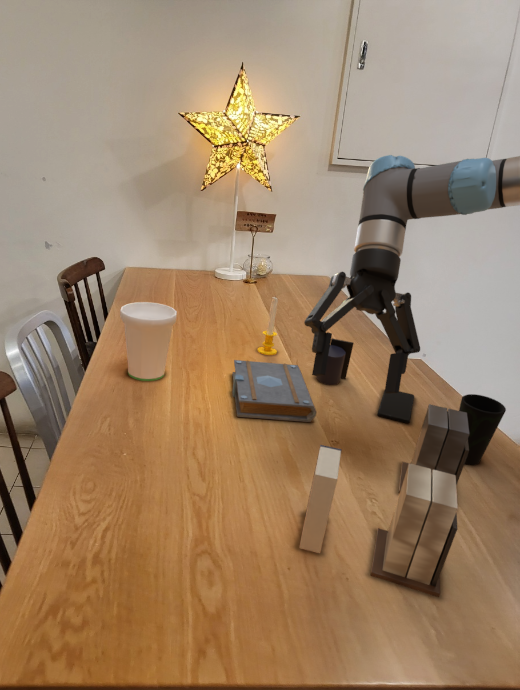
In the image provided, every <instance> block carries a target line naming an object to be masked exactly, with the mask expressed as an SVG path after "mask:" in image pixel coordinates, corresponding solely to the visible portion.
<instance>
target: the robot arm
mask: <svg viewBox="0 0 520 690" xmlns="http://www.w3.org/2000/svg"><path fill="white" fill-rule="evenodd" d="M516 206H517V207H518V206H520V155H517V156H512V157H508V158H501V159H493V160H492V159H490V158H489V157H480V158H479V157H478V158H466V159H464V158H463V159H462V160H458V161H453V162H446V163H442V164H441V163H440V164H436V165H431V166H426V167H416V165H415V163H414V162H413V161H412V160H411V159H410V158H408V157H406V156H403V155H397V156H394V155H392V154H389V155H383V156H381V157H377V158H376V159H375V160H374V161H372V162H371V164H370V165H369V168H368V170H367V174H366V178H365V182H364V184H363V188H362V199H361V206H360V213H359V214H360V215H359V218H358V219H359V220H358V225H357V230H356V235H355V242H354V248H353V251H354V253H353V254H352V258H351V264H350V270H349V277H348V276H347V274H346V272H345V271H340V272H338V273H336V274H333V275H332V276H331V277H330V280H329V285H328V287H327V289H326V290H325V291H324V293H323V294H322V296H321V297H320V298H319V299H318V301H317V303H316V304H315V305H314V307H313V308H312V310H311V311H310V313H309V314H308V316H307V317H306V318H305V319H304V321H303V322H304V326H306V327H309V328H310V330H311V333H312V334H313V338H312V339H313V340H312V345H311V346H312V347H311V352H312V353H314V354H315V356H314V361H313V367H312V373H311V376H314V377H317V376H321V375H325V372H326V366H327V360H328V354H329V349H330V344H331V339H332V336H333V333H332V332H327V331H328V330H330V329H331V328H332V327H333V326H335V324H337V323H338V322H339V321H340V320H341V319H342V318H344V317H345V316H346V315H347V314H348V313H350V312H351V311H352V310H353V309H354V308H355V310H356V311H359V312H366V313H367V314H370V315H375V316H376V317H375V318H377V320H379V322H380V323H381V325H382V327H383V330H384V331H385V334H386V336H387V338H388V340H389V342H390V344H391V347H392V349H393V351H394V353H390V355H389V361H388V368H387V373H386V379H385V380H386V381H385V386H384V390H385V392H384V391H383V393H399V391H400V389H401V388H400V386H401V381H402V380H401V379H402V375H404V374H406V370H407V365H408V358H409V355H410V354H416V353H420V352H421V346H420V341H419V336H418V332H417V328H416V323H415V320H414V315H413V311H412V307H411V305H412V294H411V293H410V292H404V293H401V292H397V291H396V283H397V280H398V278H399V275H400V274H399V273H400V269H401V268H400V267H401V260H402V259H401V258H400V257H401V256H402V255H403V250H404V243H405V235H406V230H407V224H408V220H409V221H410V220H419V219H426V218H427V219H428V218H437V217H448V216H456V215H457V216H459V215H461V216H467V215H471V214H472V215H473V214H474V213H481V212H485V211H487V210H495V209H504V208H509V207H516ZM345 288H346V290H347V292H348V294H349V296H347V298H345V299H344V300H343V301H342V302H341V303H340V304H339V305H338V306H337V307H336V308H335V309H333V310H332V311H331V312H330V313H329V314H327V316H325V314H326V313H327V311H328V310H329V308H330V307H331V305H332V304H333V303H334V302H335V300H336V299H337V297H338V296H339V295H340V293H341V291H342V290H343V289H345ZM392 302H393V303H392ZM324 316H325V317H324ZM323 317H324V318H323ZM322 318H323V319H322Z"/></svg>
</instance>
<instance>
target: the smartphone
mask: <svg viewBox="0 0 520 690" xmlns="http://www.w3.org/2000/svg"><path fill="white" fill-rule="evenodd" d="M384 392H385V389H384V390H383V393H382V396H381V399H380V404H379V408H378V410H377V416H378V417H379V418H384V419H387V420H392V421H396V422H400V423H404V424H409V423H410V422H411V418H412V412H413V406H414V400H415V395H414V394H413V393H408V392H405V391H400V390H399V393H384Z"/></svg>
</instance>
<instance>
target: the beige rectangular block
mask: <svg viewBox="0 0 520 690" xmlns="http://www.w3.org/2000/svg"><path fill="white" fill-rule="evenodd" d="M341 455H342V449H341V448H338V447H332V446H328V445H325V444H324V445H323V444H319V448H318V454H317V459H316V463H315V468H314V473H313V478H312V482H311V488H310V492H309V496H308V501H307V505H306V510H305V515H304V521H303V527H302V533H301V537H300V541H299V546H298V547H299V548H298V549H301V550H305V551H308V552H314V553H317V554H321V552H322V547H323V542H324V539H325V534H326V530H327V525H328V521H329V517H330V513H331V508H332V504H333V500H334V497H335V491H336V487H337V484H338V478H339V472H340V471H339V470H340V464H341V463H340V462H341Z"/></svg>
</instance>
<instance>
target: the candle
mask: <svg viewBox="0 0 520 690" xmlns="http://www.w3.org/2000/svg"><path fill="white" fill-rule="evenodd" d="M278 301H279V299H278V297H277V296H276V295H275V296H273V297H271V303H270V309H269V315H268V321H267V328H266V330H263V331H262V335H264V336H265V337H264V341H262V343H261V344H262V346H260V347H258V348H257V352H258V353H259V354H262V355H265V356H275V355H277V353H278V351H277V349H275V348H274V347H275V343H274V337H276V336H277V335H278V333H277V332H276V331H274V330H275V325H276V324H275V323H276V317H277V309H278Z"/></svg>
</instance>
